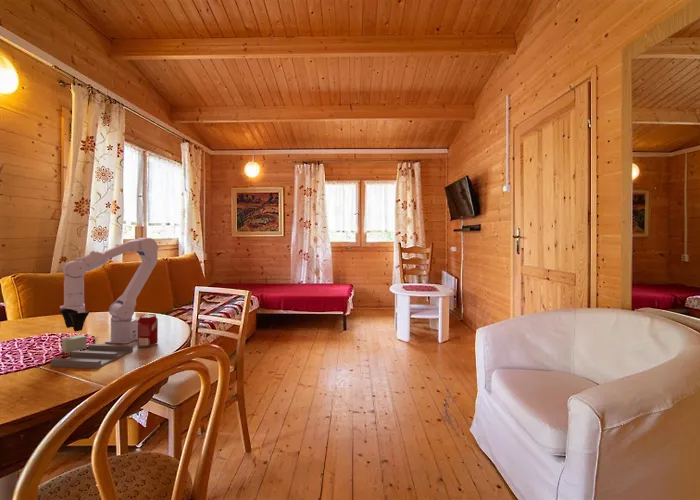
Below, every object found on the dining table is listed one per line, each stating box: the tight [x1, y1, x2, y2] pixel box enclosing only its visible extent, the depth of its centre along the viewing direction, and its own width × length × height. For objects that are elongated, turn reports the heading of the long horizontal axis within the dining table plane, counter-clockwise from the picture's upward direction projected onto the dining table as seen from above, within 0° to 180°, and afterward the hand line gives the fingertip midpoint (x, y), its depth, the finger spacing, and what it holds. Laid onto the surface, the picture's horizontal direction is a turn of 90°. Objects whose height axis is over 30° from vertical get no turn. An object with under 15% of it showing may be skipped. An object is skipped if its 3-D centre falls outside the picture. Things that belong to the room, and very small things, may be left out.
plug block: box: [61, 334, 87, 354], centre depth 119 cm, size 6×4×5 cm, turn 148°
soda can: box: [137, 313, 159, 348], centre depth 127 cm, size 7×7×12 cm
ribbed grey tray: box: [50, 343, 134, 369], centre depth 112 cm, size 16×16×2 cm
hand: (74, 329), depth 119 cm, fingers open, 7 cm apart
